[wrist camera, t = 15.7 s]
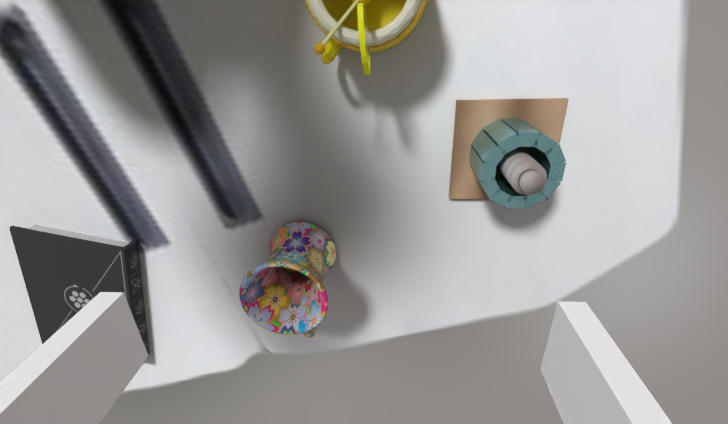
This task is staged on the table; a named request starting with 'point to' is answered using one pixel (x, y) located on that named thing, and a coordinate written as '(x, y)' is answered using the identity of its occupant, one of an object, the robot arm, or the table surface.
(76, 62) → the table surface
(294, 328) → the mug
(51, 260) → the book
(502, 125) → the teal slatted pot
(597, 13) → the table surface
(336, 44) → the mug
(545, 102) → the peg on square base
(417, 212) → the table surface
